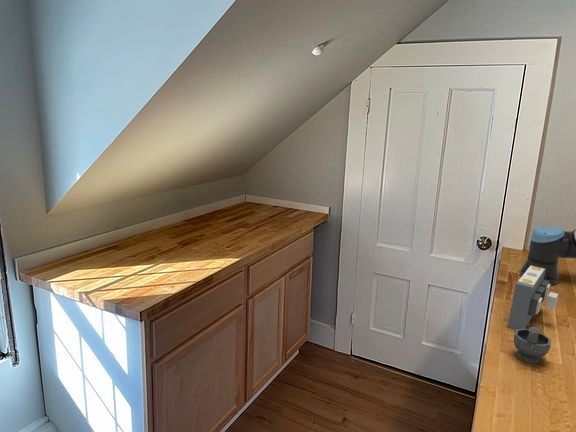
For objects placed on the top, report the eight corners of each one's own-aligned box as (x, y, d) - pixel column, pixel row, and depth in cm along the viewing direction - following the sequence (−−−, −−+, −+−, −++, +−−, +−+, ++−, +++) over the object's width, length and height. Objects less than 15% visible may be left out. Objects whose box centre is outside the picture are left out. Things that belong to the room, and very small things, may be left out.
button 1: (531, 307, 148) (534, 295, 147) (539, 309, 147) (542, 297, 146) (529, 311, 145) (531, 299, 144) (537, 314, 143) (540, 302, 142)
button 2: (540, 293, 160) (543, 282, 159) (547, 295, 159) (550, 284, 158) (538, 297, 157) (540, 285, 156) (545, 299, 156) (548, 287, 155)
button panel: (522, 304, 167) (530, 263, 162) (543, 310, 162) (552, 268, 158) (507, 326, 148) (516, 281, 144) (530, 334, 144) (540, 288, 140)
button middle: (547, 303, 152) (550, 291, 151) (555, 305, 151) (558, 293, 150) (545, 307, 149) (548, 295, 148) (553, 309, 147) (556, 297, 146)
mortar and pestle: (512, 345, 137) (519, 310, 134) (546, 355, 132) (555, 319, 129) (508, 361, 127) (516, 324, 124) (545, 373, 123) (554, 335, 120)
